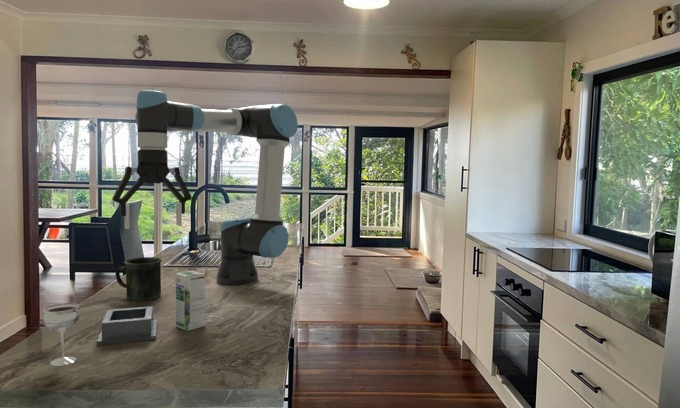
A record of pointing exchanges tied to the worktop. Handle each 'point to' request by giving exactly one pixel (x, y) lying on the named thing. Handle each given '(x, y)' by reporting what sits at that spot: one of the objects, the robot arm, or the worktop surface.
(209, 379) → the worktop surface
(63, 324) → the wineglass
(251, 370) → the worktop surface
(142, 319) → the socket block
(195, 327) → the syrup box
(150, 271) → the mug
